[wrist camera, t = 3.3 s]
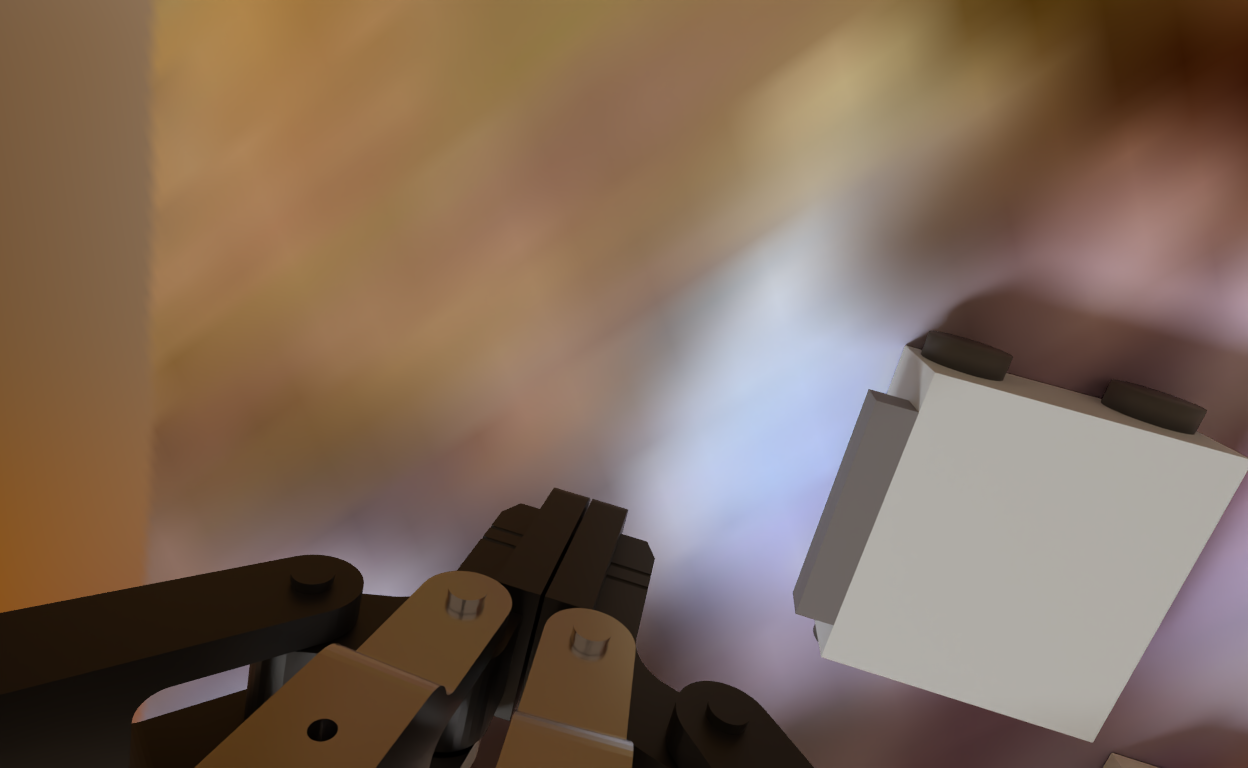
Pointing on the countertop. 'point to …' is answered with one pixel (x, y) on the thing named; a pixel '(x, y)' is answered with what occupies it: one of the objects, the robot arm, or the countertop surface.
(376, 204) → the countertop surface
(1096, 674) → the white box with feet
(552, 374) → the countertop surface
